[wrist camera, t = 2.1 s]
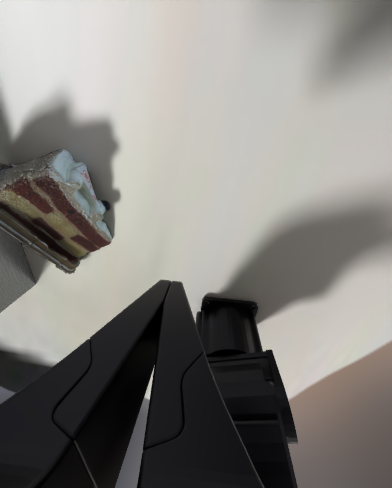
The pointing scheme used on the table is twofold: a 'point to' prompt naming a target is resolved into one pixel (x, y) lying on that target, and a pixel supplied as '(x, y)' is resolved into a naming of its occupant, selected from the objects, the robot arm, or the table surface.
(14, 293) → the stop rail
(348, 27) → the table surface
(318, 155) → the table surface
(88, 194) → the chocolate cake
